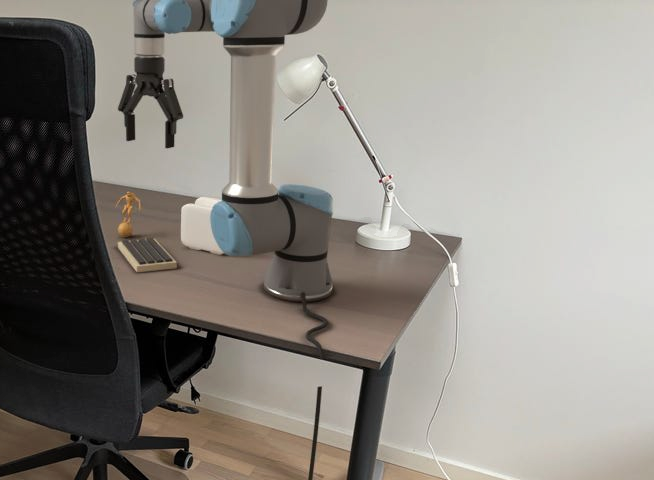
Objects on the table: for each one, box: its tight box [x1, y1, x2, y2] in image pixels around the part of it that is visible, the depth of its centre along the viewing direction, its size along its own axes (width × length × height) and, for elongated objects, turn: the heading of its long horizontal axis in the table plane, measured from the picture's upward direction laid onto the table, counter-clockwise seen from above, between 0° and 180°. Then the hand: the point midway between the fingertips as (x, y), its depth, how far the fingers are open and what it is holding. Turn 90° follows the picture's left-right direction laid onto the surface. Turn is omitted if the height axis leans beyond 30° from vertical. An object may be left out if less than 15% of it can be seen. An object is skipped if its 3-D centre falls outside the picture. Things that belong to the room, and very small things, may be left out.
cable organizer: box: [180, 196, 225, 256], centre depth 192 cm, size 15×11×12 cm
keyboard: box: [117, 237, 178, 273], centre depth 186 cm, size 19×10×2 cm, turn 18°
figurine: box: [114, 191, 142, 238], centre depth 199 cm, size 8×6×12 cm
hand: (149, 144), depth 193 cm, fingers open, 13 cm apart
